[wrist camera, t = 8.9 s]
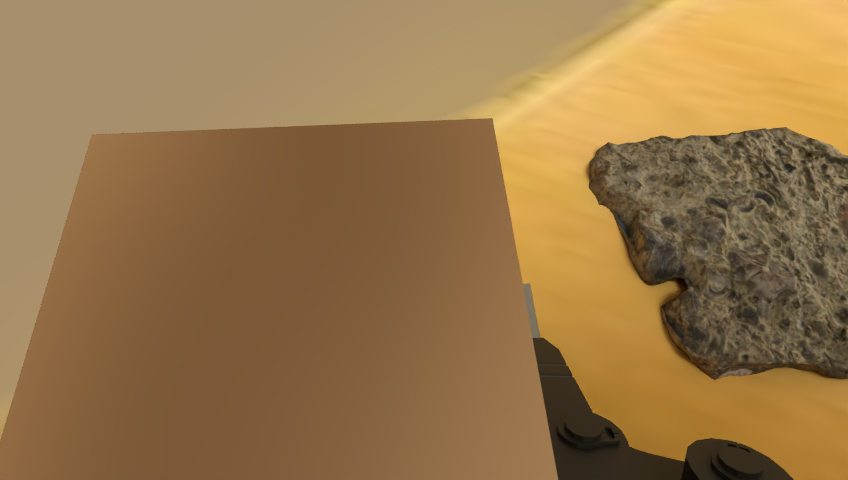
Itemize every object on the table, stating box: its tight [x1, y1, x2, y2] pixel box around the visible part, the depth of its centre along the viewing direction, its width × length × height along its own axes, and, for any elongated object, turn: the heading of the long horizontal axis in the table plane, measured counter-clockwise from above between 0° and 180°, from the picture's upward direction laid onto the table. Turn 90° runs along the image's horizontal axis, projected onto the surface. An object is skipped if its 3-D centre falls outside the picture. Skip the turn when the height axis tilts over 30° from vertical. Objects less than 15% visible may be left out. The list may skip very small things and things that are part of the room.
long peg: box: [0, 118, 558, 480], centre depth 10 cm, size 4×4×14 cm
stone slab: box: [589, 127, 848, 380], centre depth 23 cm, size 12×17×3 cm
